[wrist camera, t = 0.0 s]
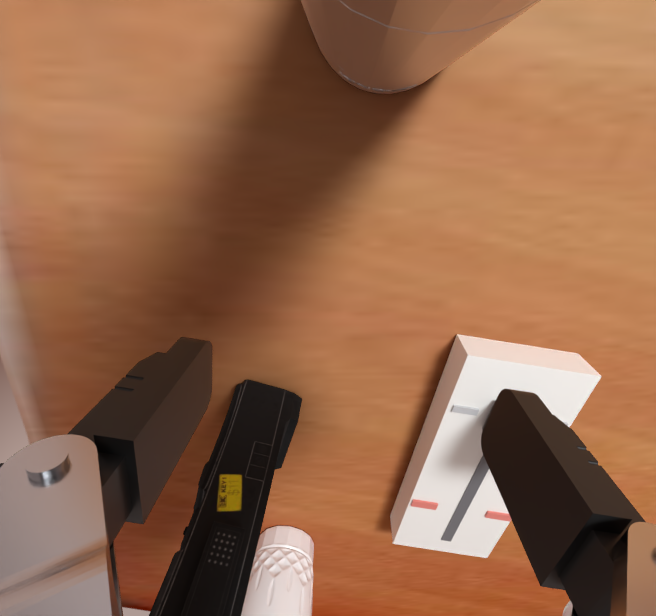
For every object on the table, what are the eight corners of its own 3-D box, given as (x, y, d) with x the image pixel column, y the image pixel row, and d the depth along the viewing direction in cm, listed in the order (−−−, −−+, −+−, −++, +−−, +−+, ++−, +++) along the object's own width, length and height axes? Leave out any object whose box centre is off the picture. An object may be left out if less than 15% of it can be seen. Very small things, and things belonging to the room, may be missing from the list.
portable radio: (241, 366, 31) (-43, 965, 9) (306, 385, 31) (194, 998, 9) (227, 428, 34) (-2, 967, 12) (285, 443, 35) (168, 991, 13)
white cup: (316, 522, 40) (306, 632, 32) (320, 561, 44) (312, 670, 35) (250, 520, 41) (222, 627, 32) (259, 558, 45) (235, 665, 36)
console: (456, 334, 28) (468, 356, 25) (577, 353, 28) (603, 378, 25) (389, 515, 39) (392, 545, 36) (477, 529, 39) (487, 560, 36)
